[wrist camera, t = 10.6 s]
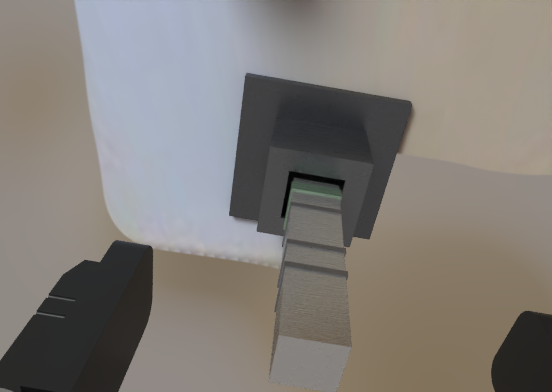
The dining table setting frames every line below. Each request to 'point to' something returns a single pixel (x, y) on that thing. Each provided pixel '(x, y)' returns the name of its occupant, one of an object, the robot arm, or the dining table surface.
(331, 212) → the column
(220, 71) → the dining table surface
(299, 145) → the sleeve
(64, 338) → the robot arm
